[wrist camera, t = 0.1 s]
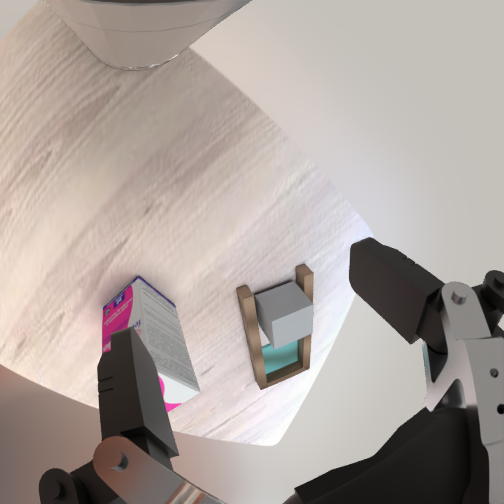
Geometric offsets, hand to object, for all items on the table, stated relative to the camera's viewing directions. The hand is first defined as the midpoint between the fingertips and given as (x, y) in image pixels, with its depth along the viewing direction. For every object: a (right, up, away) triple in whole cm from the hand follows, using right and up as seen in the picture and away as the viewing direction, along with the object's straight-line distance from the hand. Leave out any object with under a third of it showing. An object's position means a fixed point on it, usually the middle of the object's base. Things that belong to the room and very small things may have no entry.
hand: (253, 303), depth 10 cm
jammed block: (+3, -4, +26) cm, 26 cm away
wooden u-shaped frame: (+3, -9, +29) cm, 31 cm away
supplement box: (-12, -4, +19) cm, 23 cm away
